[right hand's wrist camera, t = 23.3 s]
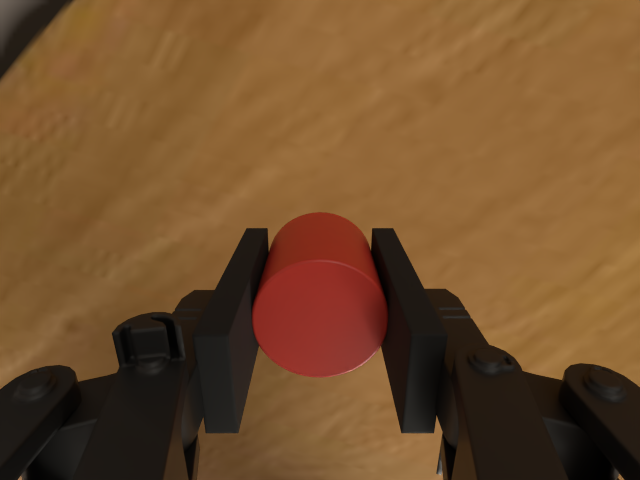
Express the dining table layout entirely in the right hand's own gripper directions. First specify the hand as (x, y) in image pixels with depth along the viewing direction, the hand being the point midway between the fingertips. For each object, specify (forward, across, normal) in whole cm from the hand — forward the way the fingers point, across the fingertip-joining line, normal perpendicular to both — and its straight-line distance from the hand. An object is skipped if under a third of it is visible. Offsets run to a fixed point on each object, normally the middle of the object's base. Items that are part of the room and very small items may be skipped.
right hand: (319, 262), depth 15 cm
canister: (0, 0, 0) cm, 0 cm away
